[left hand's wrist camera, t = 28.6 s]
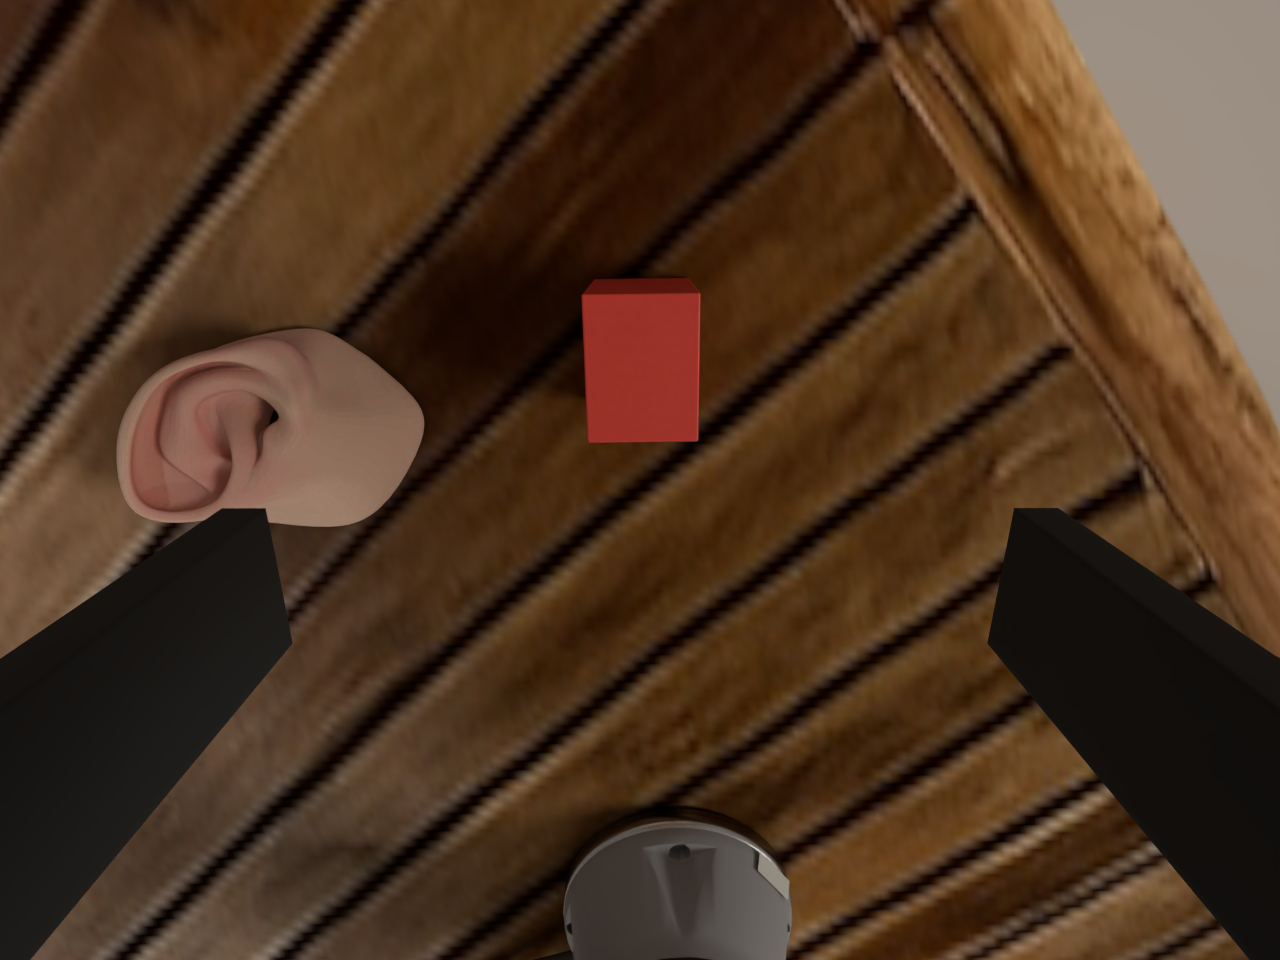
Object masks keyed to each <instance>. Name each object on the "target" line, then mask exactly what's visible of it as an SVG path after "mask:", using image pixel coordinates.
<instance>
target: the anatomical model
mask: <svg viewBox="0 0 1280 960" xmlns="http://www.w3.org/2000/svg"><path fill="white" fill-rule="evenodd" d="M423 431H424V417H423V413H422V411H421V408H420V406H419V405H418V403H417V402H416V400H415V399H414V398H413V397H412V396H411V394H410V393H409V392H408V391H407V390H406V389H405V388H404V387H403V386H402V385H401V384H400V383H399V382H397V381H396V380H395V379H394V378H393V377H392V376H390V375H389V374H388V373H387V372H386V371H385V370H384V369H382V368H381V367H380V366H379V365H378V364H377V363H375V362H374V361H373V360H372V359H370V358H369V357H368V356H366V355H365V354H363V353H362V352H360V351H359V350H357V349H356V348H354V347H352V346H351V345H349V344H348V343H346V342H345V341H343V340H342V339H340V338H338V337H336V336H334V335H332V334H330V333H328V332H325V331H322V330H317V329H310V328H302V329H290V330H284V331H277V332H271V333H267V334H262V335H257V336H253V337H249V338H245V339H241V340H237V341H234V342H231V343H228V344H225V345H222V346H220V347H217V348H215V349H211V350H206V351H202V352H198V353H195V354H192V355H188V356H185V357H183V358H180V359H178V360H176V361H173V362H171V363H170V364H168V365H166V366H164V367H162V368H161V369H159V370H158V371H157V372H155V373H154V374H153V375H152V376H151V377H149V378H148V379H147V381H146V382H145V383H144V384H143V385H142V386H141V387H140V389H139V390H138V391H137V392H136V394H135V396H134V397H133V399H132V400H131V402H130V404H129V406H128V407H127V409H126V412H125V414H124V416H123V418H122V421H121V425H120V428H119V433H118V438H117V471H118V478H119V483H120V487H121V490H122V493H123V495H124V498H125V500H126V502H127V503H128V505H129V506H130V507H131V508H132V509H133V510H134V511H135V512H136V513H138V514H139V515H141V516H143V517H145V518H148V519H151V520H155V521H160V522H194V521H202V520H205V519H207V518H208V517H210V516H211V515H213V514H214V513H216V512H217V511H219V510H220V509H222V508H266V512H267V517H268V522H272V523H281V524H290V525H300V526H320V527H330V526H342V525H348V524H352V523H355V522H358V521H361V520H363V519H365V518H366V517H368V516H370V515H371V514H373V513H374V512H375V511H377V510H378V509H379V508H380V507H381V506H382V505H383V504H384V503H385V502H386V501H387V500H388V499H389V498H390V496H391V495H392V494H393V492H394V491H395V490H396V488H397V487H398V486H399V484H400V483H401V481H402V479H403V478H404V476H405V474H406V473H407V471H408V469H409V467H410V465H411V463H412V461H413V459H414V457H415V455H416V453H417V451H418V448H419V445H420V443H421V440H422V436H423Z"/></svg>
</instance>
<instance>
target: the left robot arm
mask: <svg viewBox="0 0 1280 960" xmlns="http://www.w3.org/2000/svg"><path fill="white" fill-rule="evenodd" d="M291 645H292V638H291V633H290V628H289V623H288V618H287V613H286V608H285V603H284V598H283V593H282V588H281V583H280V578H279V573H278V568H277V563H276V558H275V553H274V548H273V543H272V538H271V533H270V527H269V522H268V517H267V512H266V508H222V509H220V510H219V511H217V512H216V513H214V514H213V515H211V516H210V517H208V518H207V519H205V520H204V521H202V522H201V523H200V524H198V525H197V526H195V527H194V528H192V529H191V530H189V531H188V532H186V533H185V534H183V535H182V536H180V537H179V538H177V539H176V540H174V541H173V542H172V543H170V544H169V545H167V546H166V547H164V548H163V549H161V550H160V551H158V552H157V553H155V554H154V555H152V556H151V557H149V558H148V559H147V560H145V561H144V562H142V563H141V564H139V565H138V566H136V567H135V568H133V569H132V570H130V571H129V572H127V573H126V574H124V575H123V576H122V577H120V578H119V579H117V580H116V581H114V582H113V583H111V584H110V585H108V586H107V587H105V588H104V589H102V590H101V591H99V592H98V593H96V594H95V595H94V596H92V597H91V598H89V599H88V600H86V601H85V602H83V603H82V604H80V605H79V606H77V607H76V608H74V609H73V610H71V611H70V612H69V613H67V614H66V615H64V616H63V617H61V618H60V619H58V620H57V621H55V622H54V623H52V624H51V625H49V626H48V627H46V628H45V629H44V630H42V631H41V632H39V633H38V634H36V635H35V636H33V637H32V638H30V639H29V640H27V641H26V642H24V643H23V644H21V645H20V646H18V647H17V648H16V649H14V650H13V651H11V652H10V653H8V654H7V655H5V656H4V657H2V658H1V659H0V960H30V959H31V958H32V957H33V956H34V954H35V953H36V952H37V951H38V950H39V948H40V947H41V946H42V945H43V944H44V942H45V941H46V940H47V939H48V938H49V936H50V935H51V934H52V933H53V932H54V930H55V929H56V928H57V927H58V926H59V924H60V923H61V922H62V921H63V919H64V918H65V917H66V916H67V915H68V913H69V912H70V911H71V910H72V909H73V907H74V906H75V905H76V904H77V903H78V901H79V900H80V899H81V898H82V897H83V895H84V894H85V893H86V892H87V891H88V889H89V888H90V887H91V886H92V885H93V883H94V882H95V881H96V880H97V878H98V877H99V876H100V875H101V874H102V872H103V871H104V870H105V869H106V868H107V866H108V865H109V864H110V863H111V862H112V860H113V859H114V858H115V857H116V856H117V854H118V853H119V852H120V851H121V850H122V848H123V847H124V846H125V845H126V844H127V842H128V841H129V840H130V839H131V837H132V836H133V835H134V834H135V833H136V831H137V830H138V829H139V828H140V827H141V825H142V824H143V823H144V822H145V821H146V819H147V818H148V817H149V816H150V815H151V813H152V812H153V811H154V810H155V809H156V807H157V806H158V805H159V804H160V803H161V801H162V800H163V799H164V798H165V796H166V795H167V794H168V793H169V792H170V790H171V789H172V788H173V787H174V786H175V784H176V783H177V782H178V781H179V780H180V778H181V777H182V776H183V775H184V774H185V772H186V771H187V770H188V769H189V768H190V766H191V765H192V764H193V763H194V762H195V760H196V759H197V758H198V757H199V755H200V754H201V753H202V752H203V751H204V749H205V748H206V747H207V746H208V745H209V743H210V742H211V741H212V740H213V739H214V737H215V736H216V735H217V734H218V733H219V731H220V730H221V729H222V728H223V727H224V725H225V724H226V723H227V722H228V720H229V719H230V718H231V717H232V716H233V714H234V713H235V712H236V711H237V710H238V708H239V707H240V706H241V705H242V704H243V702H244V701H245V700H246V699H247V698H248V696H249V695H250V694H251V693H252V692H253V690H254V689H255V688H256V687H257V686H258V684H259V683H260V682H261V681H262V679H263V678H264V677H265V676H266V675H267V673H268V672H269V671H270V670H271V669H272V667H273V666H274V665H275V664H276V663H277V661H278V660H279V659H280V658H281V657H282V655H283V654H284V653H285V652H286V651H287V649H288V648H289V647H290V646H291ZM988 645H989V646H990V647H991V648H992V649H993V651H994V652H995V653H996V654H997V655H998V657H999V658H1000V659H1001V660H1002V661H1003V663H1004V664H1005V665H1006V666H1007V667H1008V669H1009V670H1010V671H1011V672H1012V673H1013V675H1014V676H1015V677H1016V678H1017V679H1018V681H1019V682H1020V683H1021V684H1022V686H1023V687H1024V688H1025V689H1026V690H1027V692H1028V693H1029V694H1030V695H1031V696H1032V698H1033V699H1034V700H1035V701H1036V702H1037V704H1038V705H1039V706H1040V707H1041V708H1042V710H1043V711H1044V712H1045V713H1046V714H1047V716H1048V717H1049V718H1050V719H1051V721H1052V722H1053V723H1054V724H1055V725H1056V727H1057V728H1058V729H1059V730H1060V731H1061V733H1062V734H1063V735H1064V736H1065V737H1066V739H1067V740H1068V741H1069V742H1070V743H1071V745H1072V746H1073V747H1074V748H1075V749H1076V751H1077V752H1078V753H1079V754H1080V755H1081V757H1082V758H1083V759H1084V760H1085V762H1086V763H1087V764H1088V765H1089V766H1090V768H1091V769H1092V770H1093V771H1094V772H1095V774H1096V775H1097V776H1098V777H1099V778H1100V780H1101V781H1102V782H1103V783H1104V784H1105V786H1106V787H1107V788H1108V789H1109V790H1110V792H1111V793H1112V794H1113V795H1114V796H1115V798H1116V799H1117V800H1118V801H1119V803H1120V804H1121V805H1122V806H1123V807H1124V809H1125V810H1126V811H1127V812H1128V813H1129V815H1130V816H1131V817H1132V818H1133V819H1134V821H1135V822H1136V823H1137V824H1138V825H1139V827H1140V828H1141V829H1142V830H1143V831H1144V833H1145V834H1146V835H1147V836H1148V837H1149V839H1150V840H1151V841H1152V842H1153V844H1154V845H1155V846H1156V847H1157V848H1158V850H1159V851H1160V852H1161V853H1162V854H1163V856H1164V857H1165V858H1166V859H1167V860H1168V862H1169V863H1170V864H1171V865H1172V866H1173V868H1174V869H1175V870H1176V871H1177V872H1178V874H1179V875H1180V876H1181V877H1182V878H1183V880H1184V881H1185V882H1186V883H1187V885H1188V886H1189V887H1190V888H1191V889H1192V891H1193V892H1194V893H1195V894H1196V895H1197V897H1198V898H1199V899H1200V900H1201V901H1202V903H1203V904H1204V905H1205V906H1206V907H1207V909H1208V910H1209V911H1210V912H1211V913H1212V915H1213V916H1214V917H1215V918H1216V920H1217V921H1218V922H1219V923H1220V924H1221V926H1222V927H1223V928H1224V929H1225V930H1226V932H1227V933H1228V934H1229V935H1230V936H1231V938H1232V939H1233V940H1234V941H1235V942H1236V944H1237V945H1238V946H1239V947H1240V948H1241V950H1242V951H1243V952H1244V953H1245V954H1246V956H1247V957H1248V958H1249V959H1250V960H1280V658H1279V657H1277V656H1275V655H1273V654H1272V653H1270V652H1269V651H1267V650H1266V649H1264V648H1263V647H1262V646H1260V645H1259V644H1257V643H1256V642H1254V641H1253V640H1251V639H1250V638H1248V637H1247V636H1245V635H1244V634H1242V633H1241V632H1239V631H1238V630H1236V629H1235V628H1234V627H1232V626H1231V625H1229V624H1228V623H1226V622H1225V621H1223V620H1222V619H1220V618H1219V617H1217V616H1216V615H1214V614H1213V613H1211V612H1210V611H1209V610H1207V609H1206V608H1204V607H1203V606H1201V605H1200V604H1198V603H1197V602H1195V601H1194V600H1192V599H1191V598H1189V597H1188V596H1186V595H1185V594H1184V593H1182V592H1181V591H1179V590H1178V589H1176V588H1175V587H1173V586H1172V585H1170V584H1169V583H1167V582H1166V581H1164V580H1163V579H1161V578H1160V577H1158V576H1157V575H1156V574H1154V573H1153V572H1151V571H1150V570H1148V569H1147V568H1145V567H1144V566H1142V565H1141V564H1139V563H1138V562H1136V561H1135V560H1133V559H1132V558H1131V557H1129V556H1128V555H1126V554H1125V553H1123V552H1122V551H1120V550H1119V549H1117V548H1116V547H1114V546H1113V545H1111V544H1110V543H1108V542H1107V541H1106V540H1104V539H1103V538H1101V537H1100V536H1098V535H1097V534H1095V533H1094V532H1092V531H1091V530H1089V529H1088V528H1086V527H1085V526H1083V525H1082V524H1080V523H1079V522H1078V521H1076V520H1075V519H1073V518H1072V517H1070V516H1069V515H1067V514H1066V513H1064V512H1063V511H1061V510H1060V509H1058V508H1014V512H1013V517H1012V522H1011V527H1010V533H1009V538H1008V543H1007V548H1006V553H1005V558H1004V563H1003V568H1002V573H1001V578H1000V583H999V588H998V593H997V598H996V603H995V608H994V613H993V618H992V623H991V628H990V633H989V638H988ZM564 923H565V931H566V936H567V940H568V943H569V946H570V949H571V950H569V951H566V952H562V953H558V954H554V955H551V956H547V957H543V958H539V959H534V960H786V948H787V943H788V941H789V937H790V931H791V925H792V901H791V895H790V890H789V880H788V879H787V877H786V873H785V869H784V867H783V864H782V862H781V860H780V858H779V856H778V855H777V853H776V852H775V850H774V849H773V848H772V847H771V845H770V844H769V843H768V842H767V841H766V840H765V839H764V838H762V837H761V836H760V835H759V834H758V833H756V832H755V831H754V830H752V829H751V828H749V827H747V826H745V825H744V824H742V823H740V822H738V821H736V820H733V819H731V818H728V817H725V816H723V815H719V814H715V813H712V812H706V811H701V810H693V809H664V810H655V811H650V812H645V813H641V814H638V815H634V816H631V817H628V818H626V819H623V820H621V821H619V822H616V823H614V824H612V825H611V826H609V827H607V828H605V829H604V830H602V831H601V832H600V833H598V834H597V835H595V836H594V837H593V838H592V839H591V840H590V841H588V843H587V844H586V845H585V846H584V847H583V848H582V849H581V850H580V852H579V853H578V855H577V856H576V858H575V859H574V861H573V863H572V865H571V868H570V870H569V873H568V877H567V882H566V889H565V898H564Z"/></svg>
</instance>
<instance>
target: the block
mask: <svg viewBox="0 0 1280 960" xmlns="http://www.w3.org/2000/svg"><path fill="white" fill-rule="evenodd" d="M582 320H583V344H584V367H585V391H586V415H587V439H588V442H589V443H597V442H679V441H698V417H699V354H700V293H699V291H698V290H697V289H696V287H695V286H694V285H693V283H692V282H691V281H690V279H689V278H647V279H594V280H593V282H592V283H591V284H590V285H589V287H588V288H587V289H586V290H585V292H584V293H583V294H582Z"/></svg>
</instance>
